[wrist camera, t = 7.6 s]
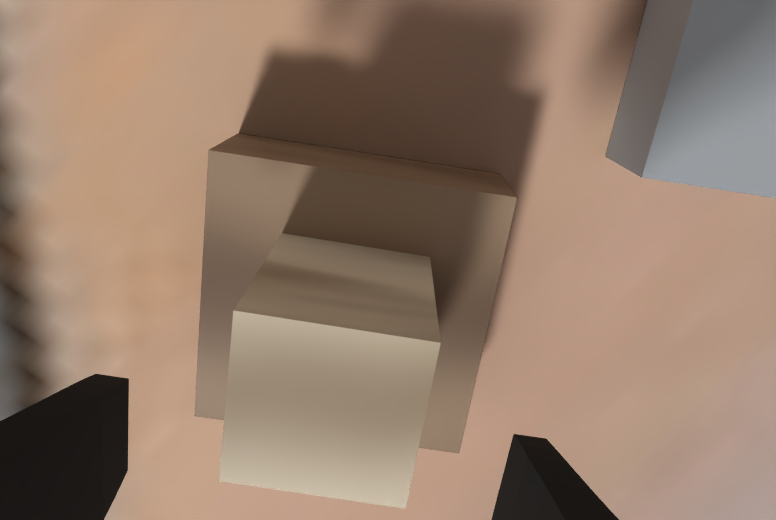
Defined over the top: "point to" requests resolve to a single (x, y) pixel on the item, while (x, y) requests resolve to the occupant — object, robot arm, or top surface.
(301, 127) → the top surface
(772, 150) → the slate grey block
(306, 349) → the maple block
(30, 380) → the top surface
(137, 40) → the top surface
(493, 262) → the tan square slab
